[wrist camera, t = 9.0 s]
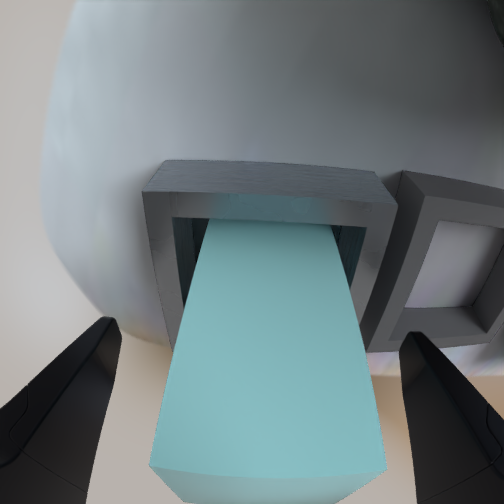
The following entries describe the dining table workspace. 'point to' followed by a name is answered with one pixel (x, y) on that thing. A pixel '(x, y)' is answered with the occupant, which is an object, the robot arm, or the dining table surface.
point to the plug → (268, 374)
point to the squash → (497, 17)
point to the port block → (263, 217)
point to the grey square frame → (411, 259)
